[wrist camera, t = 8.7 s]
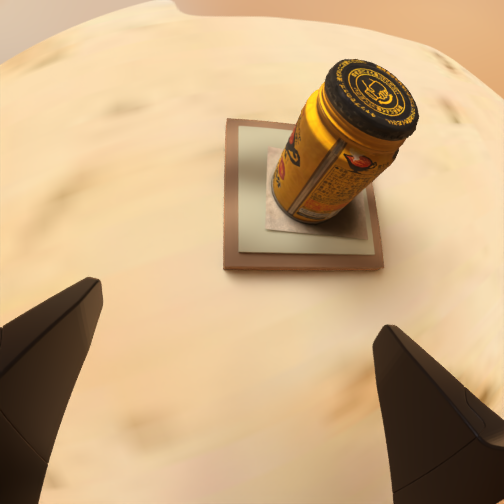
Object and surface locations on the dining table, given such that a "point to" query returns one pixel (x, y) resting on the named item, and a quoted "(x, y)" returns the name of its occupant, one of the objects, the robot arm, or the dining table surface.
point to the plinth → (254, 213)
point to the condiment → (338, 151)
